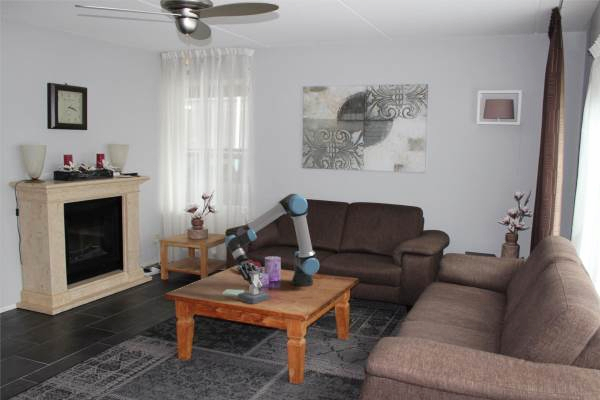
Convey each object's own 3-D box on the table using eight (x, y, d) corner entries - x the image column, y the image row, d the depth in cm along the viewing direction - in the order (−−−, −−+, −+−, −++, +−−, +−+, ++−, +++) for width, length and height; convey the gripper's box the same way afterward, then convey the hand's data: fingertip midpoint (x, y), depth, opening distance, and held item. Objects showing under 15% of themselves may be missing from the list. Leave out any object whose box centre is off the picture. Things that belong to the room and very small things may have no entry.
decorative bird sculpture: (255, 283, 384) (266, 266, 389) (247, 276, 379) (259, 259, 384) (234, 275, 405) (245, 260, 411) (226, 268, 400) (238, 253, 406)
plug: (254, 292, 332) (254, 270, 331) (259, 293, 329) (259, 271, 328) (248, 293, 329) (248, 271, 327) (253, 295, 326) (253, 273, 324)
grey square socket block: (254, 295, 339) (254, 289, 339) (269, 299, 330) (270, 294, 329) (238, 299, 329) (238, 293, 328) (253, 304, 319) (253, 298, 319)
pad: (244, 291, 346) (244, 290, 346) (239, 296, 334) (239, 295, 334) (226, 290, 348) (226, 289, 348) (221, 295, 336) (221, 294, 336)
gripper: (247, 258, 344) (265, 288, 334) (227, 262, 331) (244, 293, 322) (253, 251, 340) (271, 281, 330) (232, 255, 327) (250, 286, 318)
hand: (258, 287), depth 326 cm, fingers closed on plug, 4 cm apart
